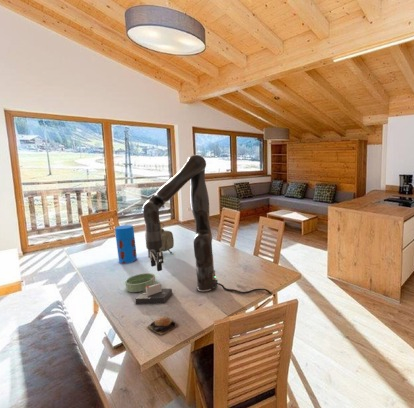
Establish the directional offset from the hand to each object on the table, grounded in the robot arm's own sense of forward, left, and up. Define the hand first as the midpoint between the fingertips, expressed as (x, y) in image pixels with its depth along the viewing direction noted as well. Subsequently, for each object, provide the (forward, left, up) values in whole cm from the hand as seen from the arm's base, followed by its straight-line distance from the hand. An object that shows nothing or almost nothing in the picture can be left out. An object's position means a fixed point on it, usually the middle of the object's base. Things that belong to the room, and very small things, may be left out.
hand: (156, 268), depth 145 cm
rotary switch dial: (+2, +2, -16) cm, 17 cm away
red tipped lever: (+2, +2, -13) cm, 14 cm away
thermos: (+46, -53, -17) cm, 72 cm away
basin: (+16, -12, -16) cm, 26 cm away
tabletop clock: (+27, -64, -17) cm, 71 cm away
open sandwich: (-13, +27, -17) cm, 34 cm away
